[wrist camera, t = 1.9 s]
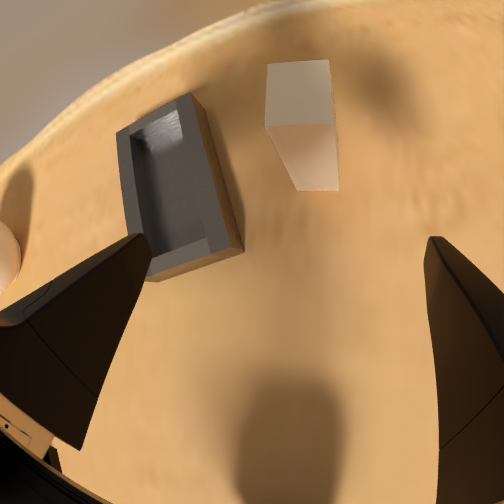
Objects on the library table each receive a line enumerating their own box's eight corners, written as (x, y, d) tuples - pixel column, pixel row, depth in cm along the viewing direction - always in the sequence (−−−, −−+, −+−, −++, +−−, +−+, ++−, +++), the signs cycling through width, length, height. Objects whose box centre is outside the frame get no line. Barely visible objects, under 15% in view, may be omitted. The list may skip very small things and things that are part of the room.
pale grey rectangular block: (339, 190, 22) (333, 123, 13) (296, 191, 23) (264, 126, 14) (337, 142, 23) (328, 59, 13) (297, 143, 24) (267, 64, 14)
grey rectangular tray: (244, 252, 24) (230, 246, 21) (157, 282, 26) (136, 280, 23) (204, 109, 27) (190, 92, 24) (133, 145, 29) (115, 133, 26)
